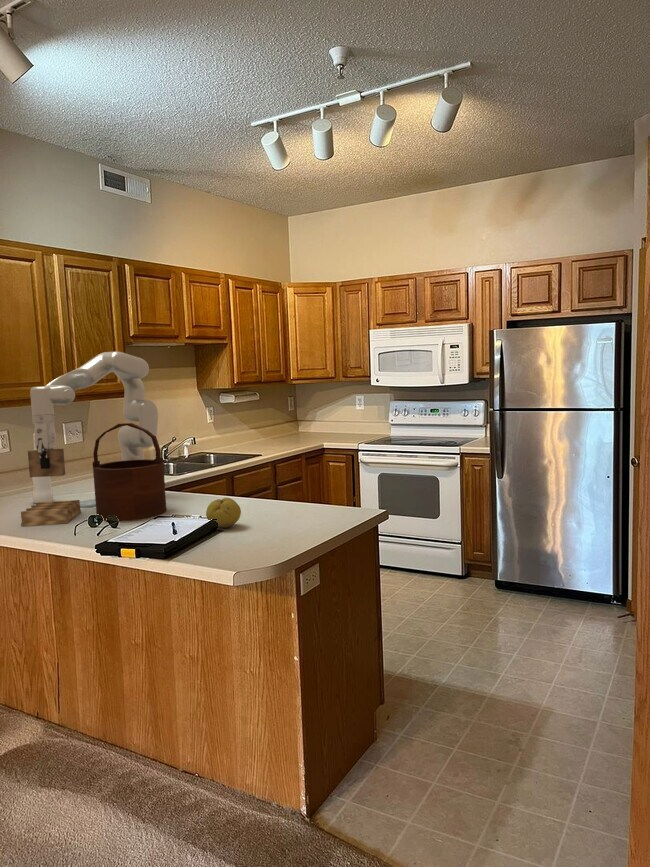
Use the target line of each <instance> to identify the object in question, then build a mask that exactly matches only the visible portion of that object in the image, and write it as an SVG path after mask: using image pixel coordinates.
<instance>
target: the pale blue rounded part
mask: <svg viewBox="0 0 650 867" xmlns="http://www.w3.org/2000/svg"><path fill="white" fill-rule="evenodd" d="M88 508H89V509H90V508H96V501H95V498H94V499H93V498H92V499H86V500H82V501H80V509H88Z"/></svg>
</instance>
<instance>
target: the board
mask: <svg viewBox="0 0 650 867" xmlns="http://www.w3.org/2000/svg"><path fill="white" fill-rule="evenodd" d="M43 450H46V449H43ZM64 450H65V449H64V448H53V449H50V450H48V458H49V460H50V468H49V469H41V464H40V455H39V453H38V450H34V449H30V450H27V458H28V470H29V473H28V474H29V478H32V477H47V476H51V477H63V476H65V475H66V466H65V452H64ZM44 452H45V451H44ZM45 453H46V452H45Z"/></svg>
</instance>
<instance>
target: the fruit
mask: <svg viewBox="0 0 650 867" xmlns="http://www.w3.org/2000/svg"><path fill="white" fill-rule="evenodd" d="M205 512H206V513H205V516H206V519H207V521H208V520H211V519H217V520H214V521H216V522H217V523H218V526H217V527H219V528H224V529H227V528H229V527H232V526H233V525H235V524H237V522H238V521H239V519H240V518H241V516H242V515H241V514H242V509H241V507H240V505H239V504H238V503H237V502H236V501H235V500H234V499H232V498H230V497H224V498H222V499H220V498H218V499H214V500H213V501H211V502H210V503H209V505H208V506H207V508H206V511H205Z"/></svg>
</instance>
